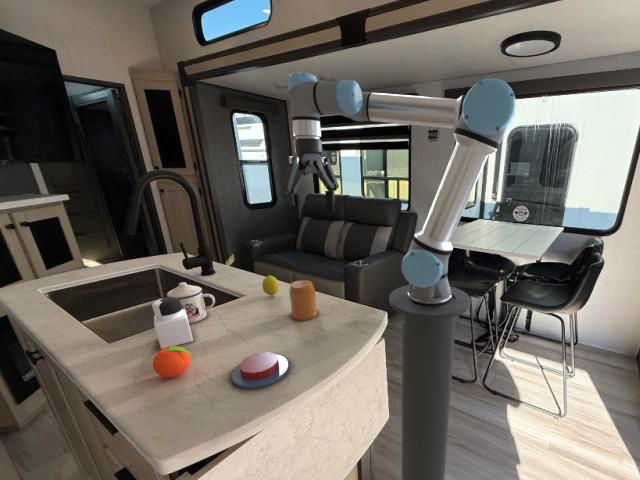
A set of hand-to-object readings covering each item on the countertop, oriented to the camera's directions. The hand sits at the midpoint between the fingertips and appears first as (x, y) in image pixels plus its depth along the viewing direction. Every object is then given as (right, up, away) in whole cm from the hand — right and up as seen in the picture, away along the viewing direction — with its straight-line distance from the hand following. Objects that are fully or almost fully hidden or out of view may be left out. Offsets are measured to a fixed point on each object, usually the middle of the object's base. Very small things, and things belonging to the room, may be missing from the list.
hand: (314, 214), depth 97 cm
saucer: (-6, -42, -24) cm, 48 cm away
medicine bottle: (-35, -37, -10) cm, 52 cm away
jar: (-4, -31, +5) cm, 32 cm away
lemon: (-21, -26, +19) cm, 38 cm away
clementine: (-25, -42, -24) cm, 55 cm away
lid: (-6, -40, -24) cm, 47 cm away
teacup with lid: (-38, -32, +3) cm, 50 cm away
